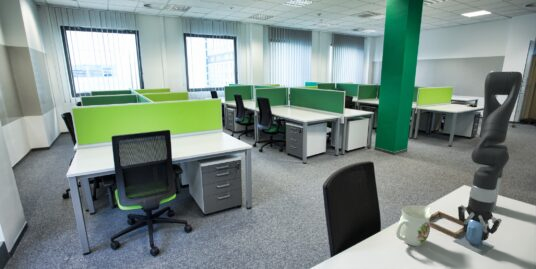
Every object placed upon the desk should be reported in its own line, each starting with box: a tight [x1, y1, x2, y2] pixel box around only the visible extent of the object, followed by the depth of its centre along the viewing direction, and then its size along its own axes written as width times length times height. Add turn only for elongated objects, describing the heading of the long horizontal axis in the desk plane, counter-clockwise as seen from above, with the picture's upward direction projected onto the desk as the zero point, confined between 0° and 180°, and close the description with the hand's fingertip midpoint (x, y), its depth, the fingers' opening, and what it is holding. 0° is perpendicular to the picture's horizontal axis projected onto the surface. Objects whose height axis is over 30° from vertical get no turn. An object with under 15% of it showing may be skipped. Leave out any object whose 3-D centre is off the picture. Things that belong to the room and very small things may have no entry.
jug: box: [465, 219, 487, 245], centre depth 105 cm, size 8×6×9 cm
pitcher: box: [395, 205, 432, 247], centre depth 107 cm, size 11×18×14 cm, turn 116°
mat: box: [453, 233, 495, 256], centre depth 107 cm, size 10×10×1 cm
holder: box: [429, 210, 465, 239], centre depth 120 cm, size 14×14×2 cm
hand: (474, 235), depth 106 cm, fingers closed on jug, 5 cm apart
